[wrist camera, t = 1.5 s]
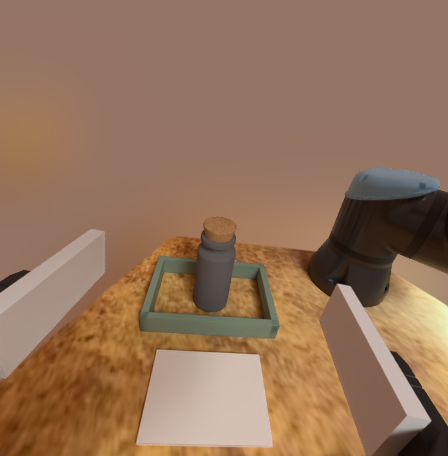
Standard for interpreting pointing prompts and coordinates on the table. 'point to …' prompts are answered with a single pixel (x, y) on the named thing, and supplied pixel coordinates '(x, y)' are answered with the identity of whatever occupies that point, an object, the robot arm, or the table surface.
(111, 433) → the table surface
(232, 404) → the tile
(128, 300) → the table surface
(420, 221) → the robot arm
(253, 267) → the green rectangular frame
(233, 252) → the bottle
